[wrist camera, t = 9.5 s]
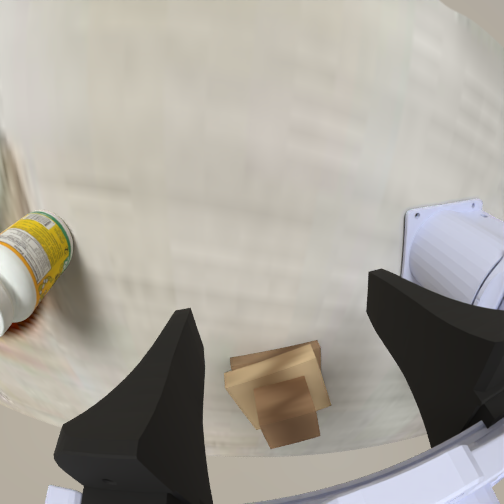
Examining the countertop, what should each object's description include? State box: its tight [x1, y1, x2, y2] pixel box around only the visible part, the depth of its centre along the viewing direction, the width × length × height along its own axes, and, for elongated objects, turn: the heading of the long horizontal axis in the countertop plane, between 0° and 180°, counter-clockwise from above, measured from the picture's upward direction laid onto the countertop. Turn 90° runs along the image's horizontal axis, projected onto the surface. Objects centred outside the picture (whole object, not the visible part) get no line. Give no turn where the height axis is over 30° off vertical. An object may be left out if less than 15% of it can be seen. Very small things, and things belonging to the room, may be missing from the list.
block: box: [253, 376, 320, 449], centre depth 24 cm, size 4×4×4 cm
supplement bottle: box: [0, 210, 73, 337], centre depth 15 cm, size 5×5×10 cm
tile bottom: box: [230, 340, 321, 372], centre depth 28 cm, size 8×8×2 cm
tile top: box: [224, 344, 331, 430], centre depth 26 cm, size 8×8×2 cm
